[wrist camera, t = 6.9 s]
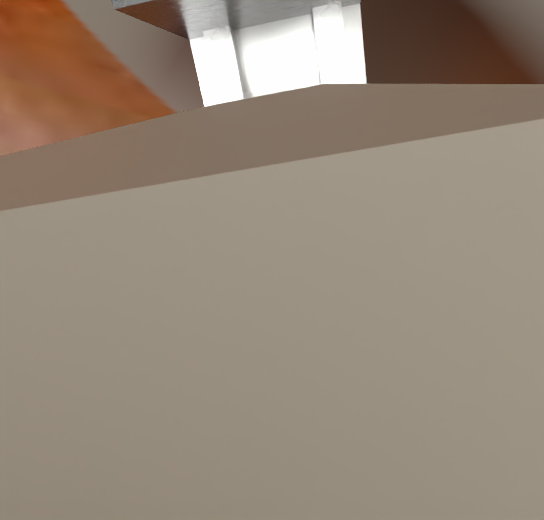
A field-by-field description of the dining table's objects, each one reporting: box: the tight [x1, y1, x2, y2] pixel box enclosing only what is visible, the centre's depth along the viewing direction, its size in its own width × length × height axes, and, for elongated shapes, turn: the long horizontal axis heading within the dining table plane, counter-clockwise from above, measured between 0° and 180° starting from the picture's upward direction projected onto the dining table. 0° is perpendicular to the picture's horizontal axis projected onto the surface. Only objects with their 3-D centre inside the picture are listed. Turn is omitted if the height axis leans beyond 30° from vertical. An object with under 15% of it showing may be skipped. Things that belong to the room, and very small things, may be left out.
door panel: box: [0, 84, 544, 520], centre depth 8 cm, size 12×3×10 cm, turn 10°
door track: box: [112, 0, 367, 106], centre depth 23 cm, size 22×10×12 cm, turn 10°
